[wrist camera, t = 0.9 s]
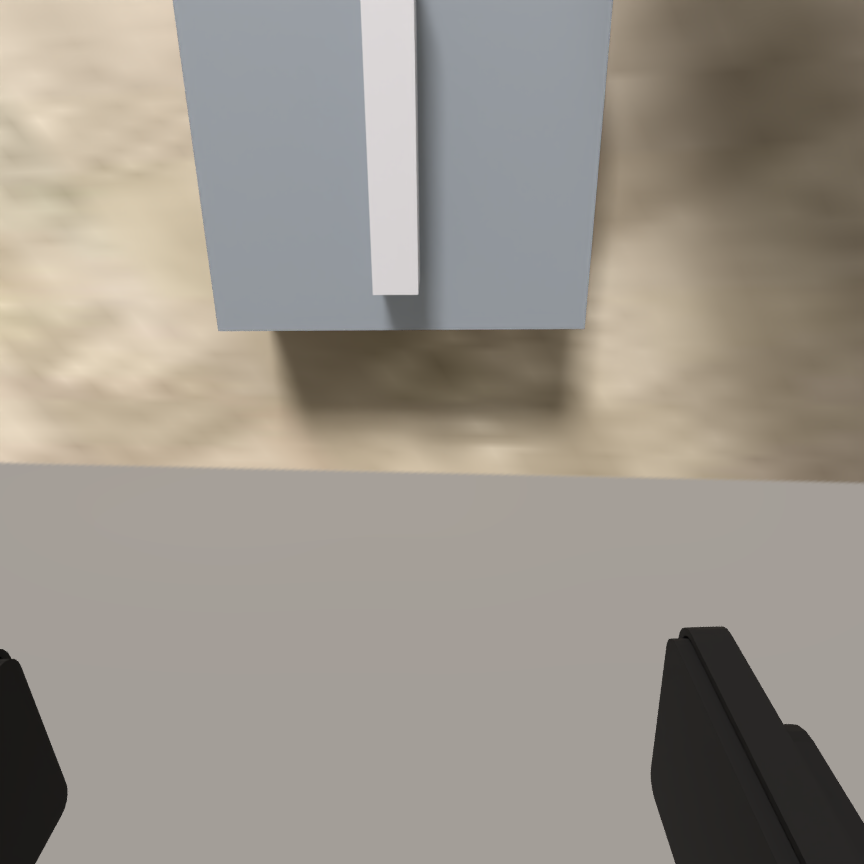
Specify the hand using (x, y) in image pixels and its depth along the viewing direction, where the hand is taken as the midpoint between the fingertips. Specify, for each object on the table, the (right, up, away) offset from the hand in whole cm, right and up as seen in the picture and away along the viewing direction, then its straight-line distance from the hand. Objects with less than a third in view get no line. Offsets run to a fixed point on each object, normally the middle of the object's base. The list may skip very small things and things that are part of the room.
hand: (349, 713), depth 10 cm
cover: (0, +15, +14) cm, 20 cm away
